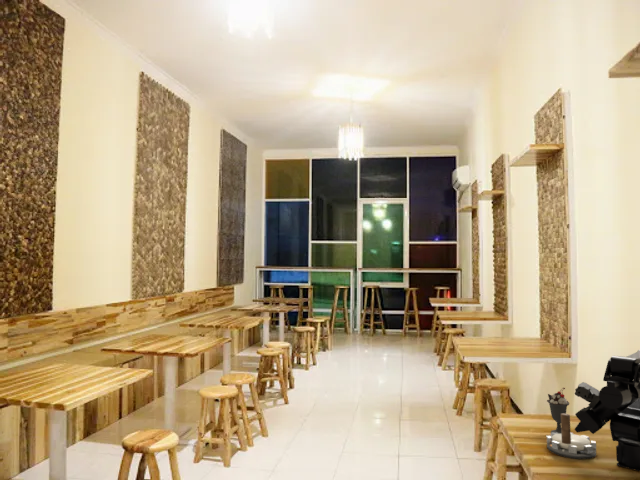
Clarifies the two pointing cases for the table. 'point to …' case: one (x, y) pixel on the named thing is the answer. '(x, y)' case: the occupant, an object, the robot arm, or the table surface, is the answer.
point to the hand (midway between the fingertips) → (576, 430)
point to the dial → (569, 435)
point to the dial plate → (574, 456)
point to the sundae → (557, 408)
